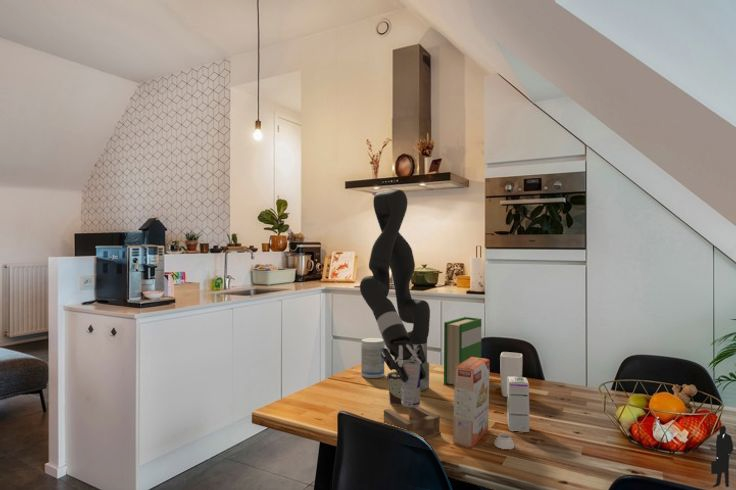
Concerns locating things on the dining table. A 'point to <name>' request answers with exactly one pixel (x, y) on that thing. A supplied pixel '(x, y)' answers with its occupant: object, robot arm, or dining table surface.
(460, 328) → the hardback book
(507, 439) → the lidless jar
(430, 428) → the walnut cradle
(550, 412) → the dining table surface
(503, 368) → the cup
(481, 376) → the cracker box
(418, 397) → the energy drink
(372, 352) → the supplement tub
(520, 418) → the syrup box
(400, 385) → the food container
